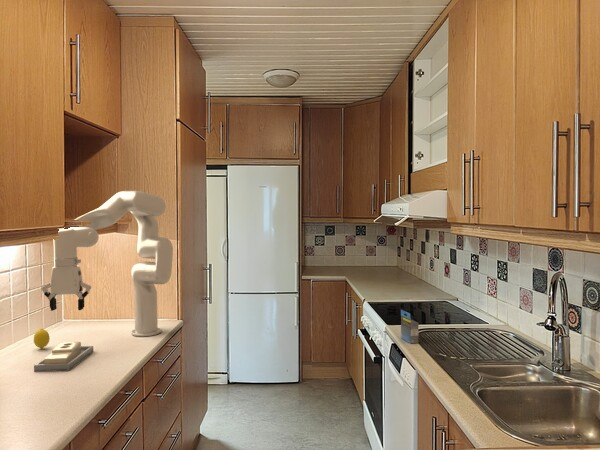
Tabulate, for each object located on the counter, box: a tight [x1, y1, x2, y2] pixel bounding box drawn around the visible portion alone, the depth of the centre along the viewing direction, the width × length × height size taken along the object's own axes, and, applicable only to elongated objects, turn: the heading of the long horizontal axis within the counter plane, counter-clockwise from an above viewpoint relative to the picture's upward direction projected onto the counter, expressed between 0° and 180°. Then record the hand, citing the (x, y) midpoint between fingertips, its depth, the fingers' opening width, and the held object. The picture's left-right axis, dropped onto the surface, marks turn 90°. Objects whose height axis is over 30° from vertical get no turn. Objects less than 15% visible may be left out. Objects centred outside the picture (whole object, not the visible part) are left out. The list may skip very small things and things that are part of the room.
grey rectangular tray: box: [33, 345, 94, 372], centre depth 181 cm, size 23×12×2 cm, turn 3°
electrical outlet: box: [43, 341, 82, 364], centre depth 180 cm, size 7×4×18 cm
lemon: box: [33, 328, 50, 350], centre depth 196 cm, size 6×6×8 cm
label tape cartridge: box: [400, 309, 420, 345], centre depth 205 cm, size 9×4×12 cm, turn 15°
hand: (67, 309), depth 181 cm, fingers open, 9 cm apart
